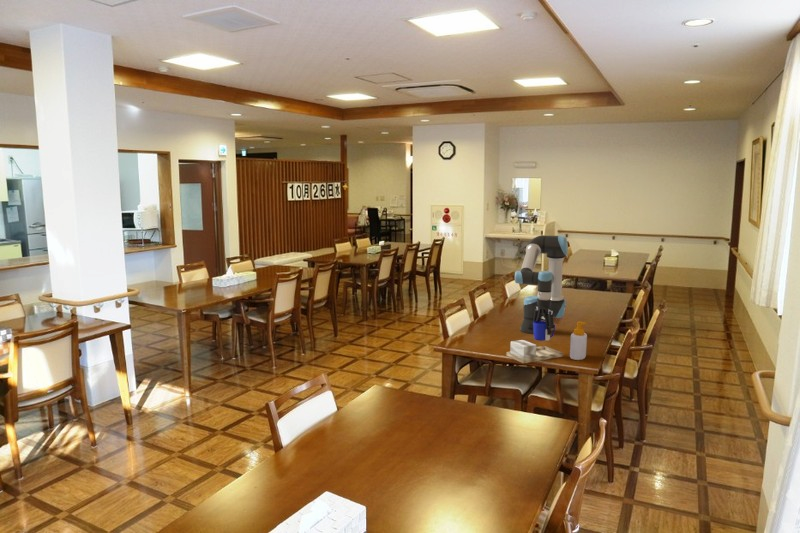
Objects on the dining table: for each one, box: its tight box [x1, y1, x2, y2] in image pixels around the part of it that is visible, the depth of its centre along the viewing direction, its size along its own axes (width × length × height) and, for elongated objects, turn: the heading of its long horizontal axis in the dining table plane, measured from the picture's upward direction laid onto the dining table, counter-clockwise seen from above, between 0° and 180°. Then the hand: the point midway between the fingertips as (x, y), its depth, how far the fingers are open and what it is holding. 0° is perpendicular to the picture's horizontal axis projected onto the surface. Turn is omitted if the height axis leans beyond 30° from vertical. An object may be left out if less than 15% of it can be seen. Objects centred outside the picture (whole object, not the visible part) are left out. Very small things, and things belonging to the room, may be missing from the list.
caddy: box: [505, 339, 564, 364], centre depth 311 cm, size 28×15×9 cm, turn 117°
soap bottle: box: [569, 321, 588, 361], centre depth 309 cm, size 13×8×20 cm, turn 148°
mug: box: [533, 320, 556, 342], centre depth 311 cm, size 8×12×10 cm
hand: (542, 338), depth 312 cm, fingers closed on mug, 8 cm apart
